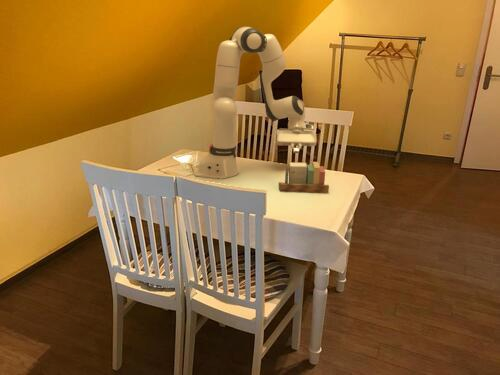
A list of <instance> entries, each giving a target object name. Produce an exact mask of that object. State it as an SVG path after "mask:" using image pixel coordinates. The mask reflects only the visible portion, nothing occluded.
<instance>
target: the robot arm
mask: <svg viewBox="0 0 500 375" xmlns="http://www.w3.org/2000/svg"><path fill="white" fill-rule="evenodd" d="M244 53H248V54H256V53H257V55H258V56H259V59H260V62H261V65H262V71H261V72H260V75H259V76H260V77H259V80H260V81H259V82H260V87H261V92H262V96H263V100H264V107H265V114H266V117H267V118H268V119H269V120H270V121H273V122H276V121H279V120H281V119H286V118H288V123H287V128H286V127H284V128H282V127H279V128H277V129H276V131H275V135H276V145H278V146H290V148H291V149H292V151H293V154H300V150H301V149H302V147H315V146H317V142H318V141H317V139H318V138H317V134H316V132H315V127H314V125H313V124H309V123H307V122H305V121H306V120H305V118H306V107H305V103H304V102H303V100H302V99H300V98H299V97H298V96H296V95H291V96H287V97H284V98H281V99H274V96H273V91H272V90H273V89H272V82H273V81H274V80H276V79H277V78H278V77H279V76H280V75H281V74H282V73H283V72H284V71H285V69H286V66H287V65H286V63H287V61H286V58H285V55H284V52H283V49H282V47H281V44H280V42H279V41H278V39H277V37H276V35H274V34H272V33H265V34H263V33H262V32H261V31H260V30H258V29H257V28H255V27H254V28H253V27H250V26H241V27H240V26H239V27H238V28H236V29H235V30H234V32H233V33H232V35H231V37H230V38H229V39H228V40H224V41H222V42H221V43H220V44H219V46H218V50H217V55H216V61H215V69H214V70H215V71H214V72H215V73H214V84H213V92H212V101H211V107H212V112H213V113H212V120H213V122H212V143H210V145H209V149H208V151H209V152H208V153H207V154H206V155H204V156H203V157H202V158H201V159H200V160H199V163H198V166H197V167H198V168H197V167H196V168H197V169H196V168H195V169H194V171H193V175H194V176H195V177H200V178H201V177H202V178H208V179H209V178H210V179H218V178H219V179H220V180H223V179H228V178H231V177H232V178H233V177H235V176H237V175H239V169H238V165H237V164H238V163H237V145H236V128H237V110H238V108H237V104H236V95H237V90H238V89H237V88H238V84H239V76H240V66H241V57H242V56H243V54H244ZM295 146H296V147H297V146H298V148H296V147H295Z"/></svg>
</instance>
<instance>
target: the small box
mask: <svg viewBox="0 0 500 375" xmlns="http://www.w3.org/2000/svg"><path fill="white" fill-rule="evenodd" d="M288 165H289V166H288V183H290V184H306V176H307V165H308V164H307V162H289V164H288Z"/></svg>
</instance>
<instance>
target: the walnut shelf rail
mask: <svg viewBox="0 0 500 375" xmlns="http://www.w3.org/2000/svg"><path fill="white" fill-rule="evenodd" d="M279 183H280V190H279V192H280V193H281V192H285V193H288V192H289V193H311V194H313V193H315V194H329V189H330V186H329V184H324V185H319V184H290V183H289V182H288V183H285V182H279Z"/></svg>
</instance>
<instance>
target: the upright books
mask: <svg viewBox="0 0 500 375" xmlns="http://www.w3.org/2000/svg"><path fill="white" fill-rule="evenodd" d="M306 165H307V176H306V184H319V185H325V182H326V181H325V179H326V178H325V177H326V170H325V167H324V166H323V165H320V163H319V161H312V164H306Z"/></svg>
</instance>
